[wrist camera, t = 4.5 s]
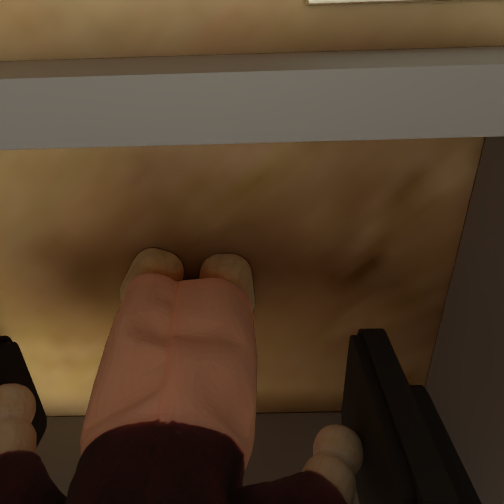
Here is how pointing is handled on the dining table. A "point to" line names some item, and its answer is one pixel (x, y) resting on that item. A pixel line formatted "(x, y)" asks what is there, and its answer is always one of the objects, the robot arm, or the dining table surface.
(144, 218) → the dining table surface
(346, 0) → the cream tile
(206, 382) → the grandmother figurine
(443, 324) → the box
